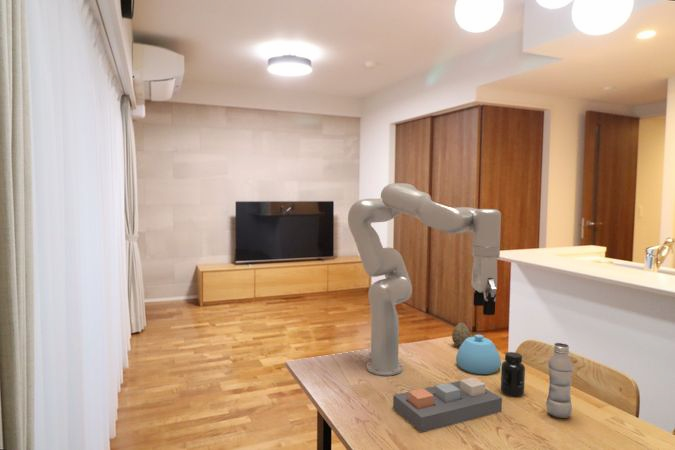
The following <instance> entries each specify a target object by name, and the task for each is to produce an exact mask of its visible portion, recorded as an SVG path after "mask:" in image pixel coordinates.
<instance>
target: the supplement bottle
mask: <svg viewBox="0 0 675 450" xmlns="http://www.w3.org/2000/svg"><path fill="white" fill-rule="evenodd" d="M504 356H505V357H504V361H503V362H501V366H500V369H501V371H500V391H501V392H502V394H503V395H506V396H509V397H514V398H516V397H518V398H519V397H522V396H523V395H524V394H525V383H526V382H525V381H526V379H525V378H526V367H525V364H524V363H523V355H522V354H521V353H518V352H513V351H509V352H508V351H507V352H505V355H504Z"/></svg>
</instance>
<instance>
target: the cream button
mask: <svg viewBox="0 0 675 450" xmlns="http://www.w3.org/2000/svg"><path fill="white" fill-rule="evenodd" d="M459 381H460V390H461V391H462V392H464V393H466V394H467V395H469V396H470V397H473V396H478V395H482V394H485V389H486V383H484V382H483V381H482V380H479V379H477V378H475V377H469V378H465V379H461V380H459Z"/></svg>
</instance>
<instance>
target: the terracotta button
mask: <svg viewBox="0 0 675 450" xmlns="http://www.w3.org/2000/svg"><path fill="white" fill-rule="evenodd" d="M407 392H408V402H409V403H410V404H411V405H413V406H414V407H415V408H416V409H422V408H426V407H431V406H434V395H432V394H431V393H429V392H428V391H427V390H425V389H424V388H423V387H422V388H418V389H412V390H409V391H407Z"/></svg>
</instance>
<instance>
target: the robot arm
mask: <svg viewBox="0 0 675 450" xmlns="http://www.w3.org/2000/svg"><path fill="white" fill-rule="evenodd" d="M401 214H405V215H408V216H411V217H413V218H416V219H418V220H419V221H420V222H421V223H422V224H424V225H425V226H427V227H430V228H433V229H435V230H437V231H440V232H443V233H446V234H450V235H454V234H456V235H457V234H461V233H462V234H463V233H470V232H472V252H471V256H472V257H473V259H472V267H471V268H472V269H471V281H470V283H471V284H470V285H471V287H472V288H473V305H474V306H475V307H482V314H483V315H484V316H495V314H496V297H497V293H496V292H497V288H498V259H500V254H501V253H500V250H501V228H502V225H501V223H502V213H501V211H500V210H498V209H493V208H475V207H469V206H468V207H466V206H465V207H464V206H463V207H462V206H461V207H450V206H446V205H443V204H441V203H437V202H436V201H433V200H432V197H431V195H430V194H429V193H428V192H424V191H422V190H418V189H417V188H416V187H415V186H414V185H412V184H410V183H404V182H403V183H400V182H398V183H397V182H395V183H390V184H387V185H386V186H384V187H383V188H382V190H381V193H380V198H363V199H360V200H357V201H356V202H354V203H353V204H352V205H351V207H350V208H349V210H348V214H347V224H348V228H349V229H350V230H349V231H350V232H351V235H352V237H353V239H354V242H355V245H356V248H357V250H358V254H359V257H360V260H361V263H362V266H363V268H364V269H363V270H364V271H365V273H366V275H367V276H369V277H372V278H376V277H377V278H378V277H381V276H384V277H385V278H383V279H379V280H377V281H374V282H373V283H372V284H371V286H370V287H369V289H368V292H367V293H368V295H367V297H368V302H369V308H370V352H368V356H370V361H368V362H367V364H366V370H367V371H368V372H369V373H371V374H374V375H377V376H383V377H385V376H387V377H389V376H396V375H398V374H400V373H402V372H403V368H404V366H403V364H402V363H401V362H399V330H400V328H399V327H400V326H399V325H400V323H399V322H400V321H399V320H400V319H399V314H398V311H397V309H396V305H398V304H401V303H405V302H406V301H408V300H409V299H410V298H411V296H412V294H413V286H412V281H411V279H410V278H411V277H410V276H409V273H408V270H407V267H406V264H405V260H404V258H403V256H402V255H401V253H400V252H399V251H398V250H397V249H395V248H393V247H388V246H387V247H383V245H382V242H381V239H380V235H379V234H378V232H377V231H376V230H375V228H374V227H373V226H372V223H373V224H374V223H384V222H388V221H391V220H393V219H395V218H396V217H398V216H400V215H401Z"/></svg>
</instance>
